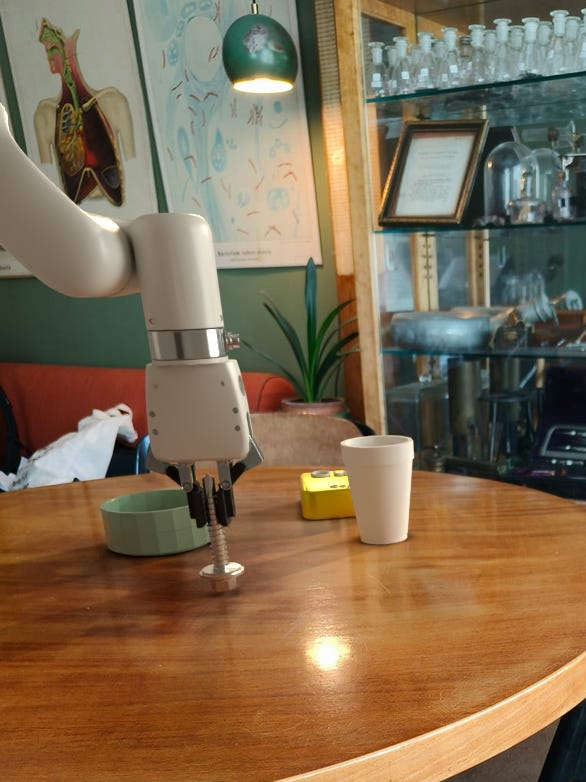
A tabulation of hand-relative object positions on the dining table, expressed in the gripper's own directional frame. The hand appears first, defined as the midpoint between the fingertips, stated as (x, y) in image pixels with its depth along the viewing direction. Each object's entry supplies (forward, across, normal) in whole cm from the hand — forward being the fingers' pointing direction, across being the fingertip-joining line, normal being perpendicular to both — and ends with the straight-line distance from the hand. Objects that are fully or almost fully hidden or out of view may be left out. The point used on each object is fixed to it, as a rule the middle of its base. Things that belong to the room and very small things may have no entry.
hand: (214, 523), depth 97 cm
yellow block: (+8, -13, -40) cm, 43 cm away
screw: (+8, 0, 0) cm, 8 cm away
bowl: (+8, +12, -24) cm, 28 cm away
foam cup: (+8, -18, -20) cm, 28 cm away
